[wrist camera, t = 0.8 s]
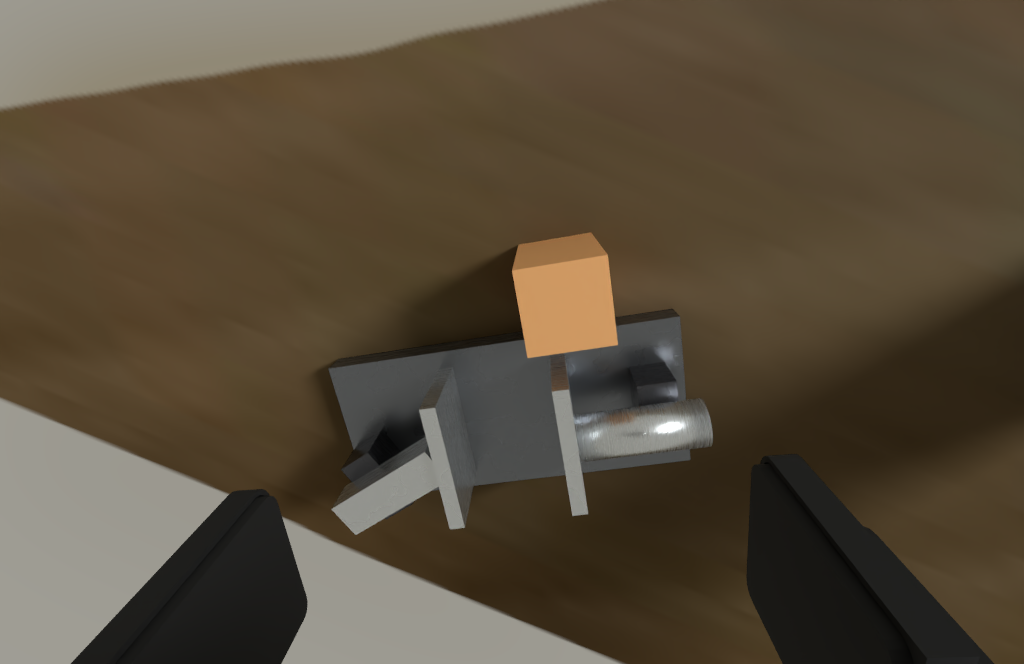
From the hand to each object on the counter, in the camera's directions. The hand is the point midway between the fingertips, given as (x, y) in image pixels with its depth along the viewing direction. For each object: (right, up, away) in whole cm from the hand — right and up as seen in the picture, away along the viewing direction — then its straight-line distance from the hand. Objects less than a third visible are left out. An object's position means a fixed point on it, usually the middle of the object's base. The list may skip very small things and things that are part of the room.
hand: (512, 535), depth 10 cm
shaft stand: (0, 0, +21) cm, 21 cm away
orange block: (+3, +7, +18) cm, 20 cm away
